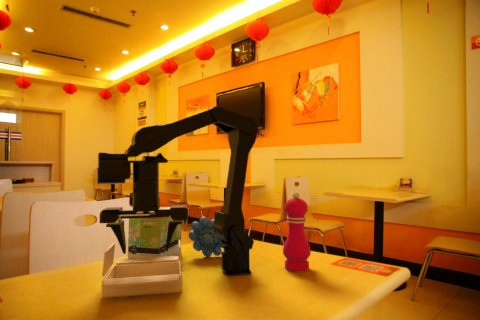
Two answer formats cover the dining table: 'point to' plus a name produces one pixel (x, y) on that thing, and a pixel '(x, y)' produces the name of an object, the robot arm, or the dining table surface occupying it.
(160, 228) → the tea box
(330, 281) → the dining table surface
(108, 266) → the flap
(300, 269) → the pepper mill
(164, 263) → the carton
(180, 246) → the flap
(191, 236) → the blue succulent rosette
